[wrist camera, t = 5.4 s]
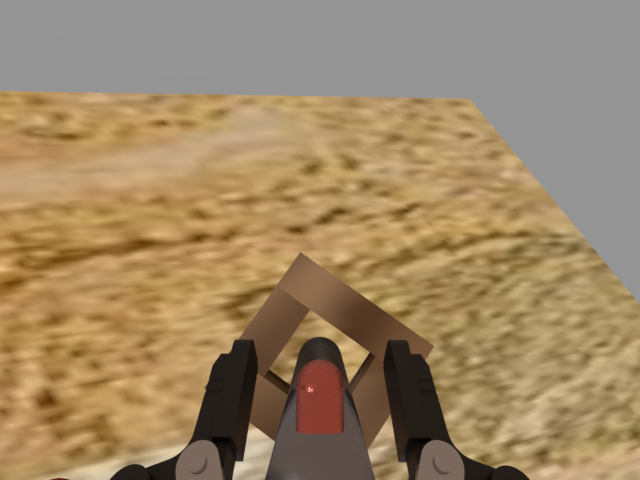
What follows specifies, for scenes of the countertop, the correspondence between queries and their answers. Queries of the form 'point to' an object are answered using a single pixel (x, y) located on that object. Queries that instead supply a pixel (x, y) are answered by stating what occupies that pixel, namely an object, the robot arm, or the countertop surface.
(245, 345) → the robot arm
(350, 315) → the frame
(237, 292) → the countertop surface
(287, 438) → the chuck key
